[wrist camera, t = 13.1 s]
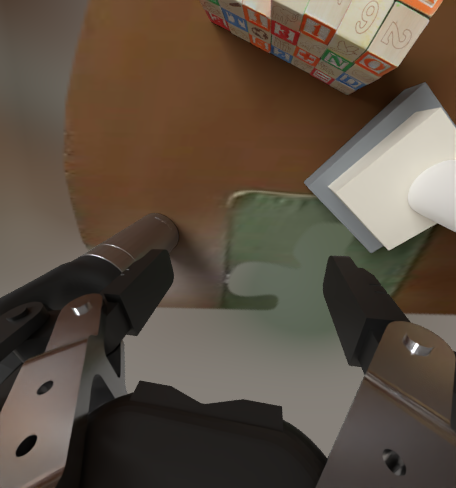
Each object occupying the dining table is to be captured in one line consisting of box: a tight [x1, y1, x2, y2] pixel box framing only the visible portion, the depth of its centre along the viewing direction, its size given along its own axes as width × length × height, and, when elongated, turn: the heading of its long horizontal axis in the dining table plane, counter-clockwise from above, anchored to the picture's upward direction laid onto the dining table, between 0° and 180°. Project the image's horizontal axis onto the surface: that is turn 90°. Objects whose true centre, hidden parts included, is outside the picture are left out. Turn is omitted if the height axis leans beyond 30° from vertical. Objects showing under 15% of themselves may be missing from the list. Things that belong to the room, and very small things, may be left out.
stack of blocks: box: [200, 0, 443, 95], centre depth 20 cm, size 21×6×12 cm, turn 66°
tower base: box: [304, 82, 456, 253], centre depth 27 cm, size 16×16×8 cm
